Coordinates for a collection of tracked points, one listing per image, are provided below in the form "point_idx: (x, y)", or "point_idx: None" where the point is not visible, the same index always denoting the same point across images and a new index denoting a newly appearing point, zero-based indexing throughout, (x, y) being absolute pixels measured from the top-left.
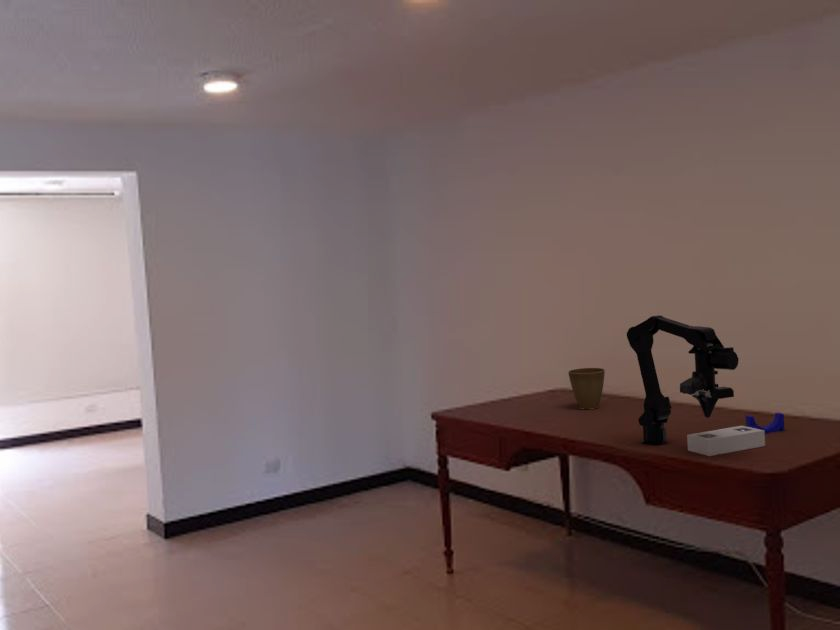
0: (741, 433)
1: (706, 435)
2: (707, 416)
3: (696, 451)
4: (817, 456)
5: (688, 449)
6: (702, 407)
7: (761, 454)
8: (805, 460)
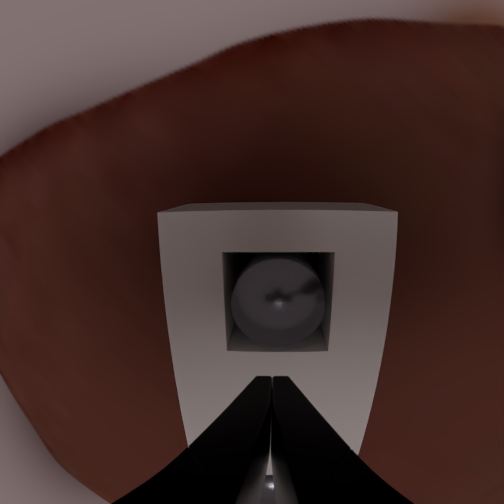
0: None
1: (285, 299)
2: (251, 386)
3: (294, 202)
4: (48, 439)
5: (362, 203)
6: (315, 448)
7: (111, 385)
8: (19, 393)
